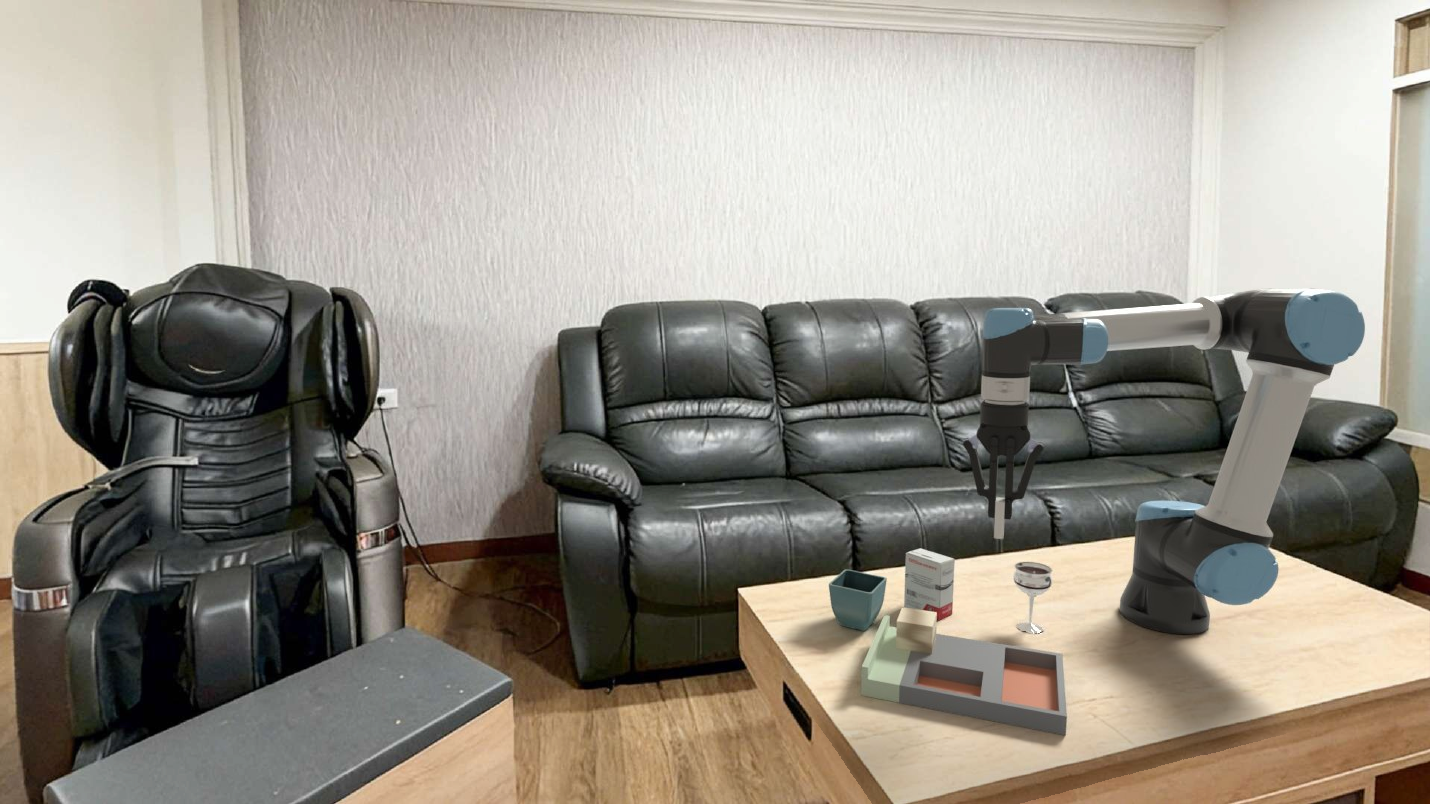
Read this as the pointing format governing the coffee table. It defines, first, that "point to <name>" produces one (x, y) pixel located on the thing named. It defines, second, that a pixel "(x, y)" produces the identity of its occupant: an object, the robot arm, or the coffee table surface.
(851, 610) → the flower pot
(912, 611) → the birch block
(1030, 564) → the wineglass
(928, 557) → the ink box
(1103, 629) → the coffee table surface
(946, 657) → the grey compartment tray
